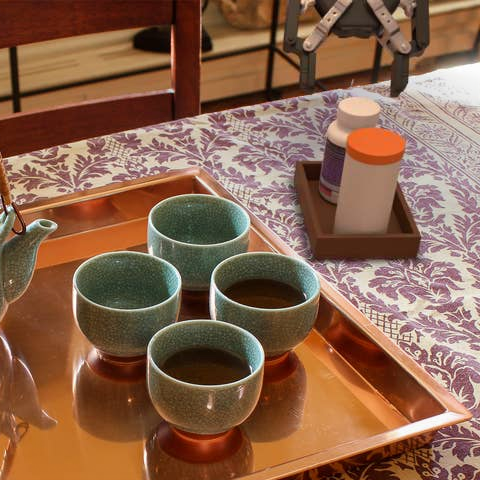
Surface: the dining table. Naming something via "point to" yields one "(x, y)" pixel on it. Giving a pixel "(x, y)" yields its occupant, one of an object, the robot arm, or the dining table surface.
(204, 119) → the dining table surface
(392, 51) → the robot arm
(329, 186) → the pill bottle
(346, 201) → the orange-capped white bottle
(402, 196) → the tray
